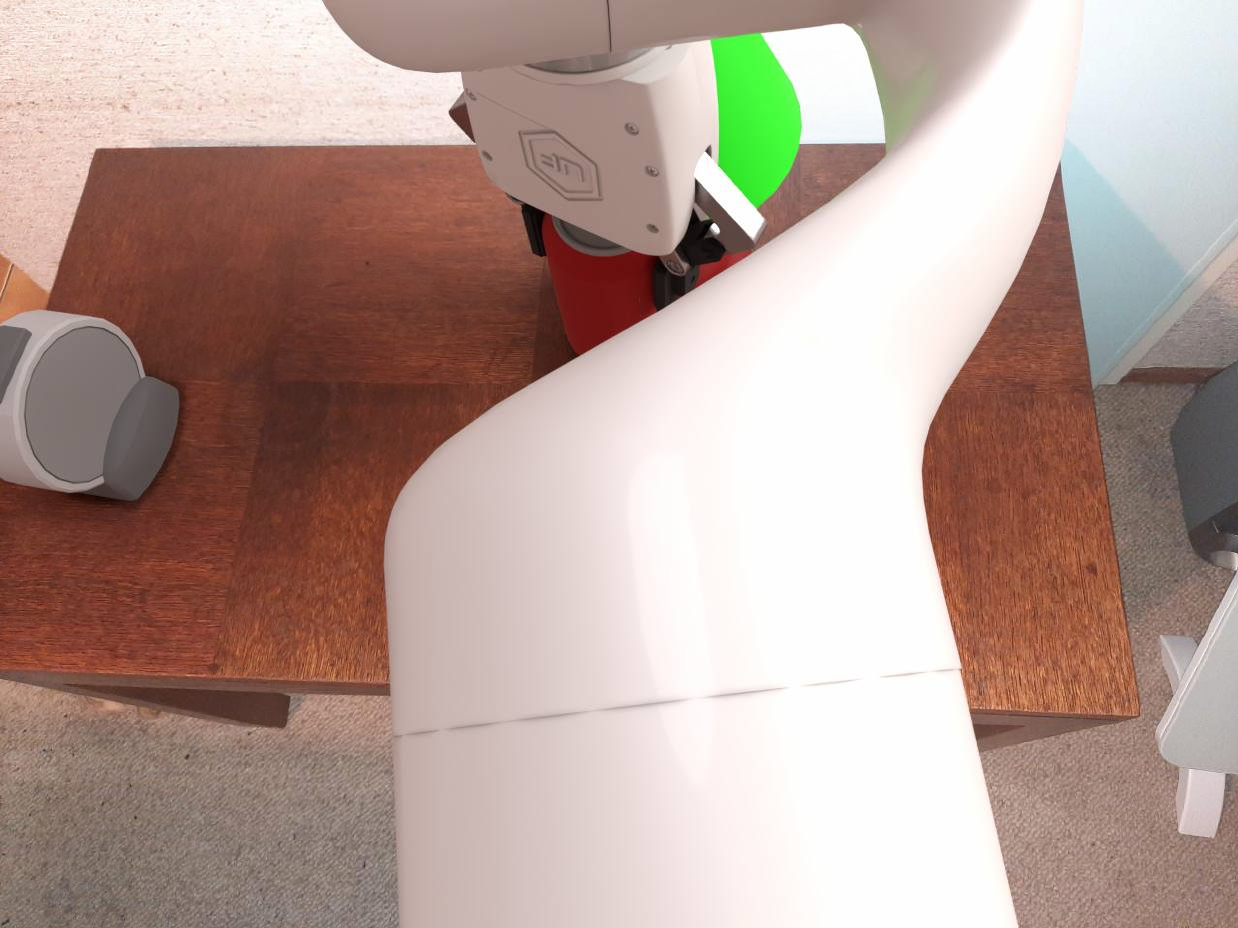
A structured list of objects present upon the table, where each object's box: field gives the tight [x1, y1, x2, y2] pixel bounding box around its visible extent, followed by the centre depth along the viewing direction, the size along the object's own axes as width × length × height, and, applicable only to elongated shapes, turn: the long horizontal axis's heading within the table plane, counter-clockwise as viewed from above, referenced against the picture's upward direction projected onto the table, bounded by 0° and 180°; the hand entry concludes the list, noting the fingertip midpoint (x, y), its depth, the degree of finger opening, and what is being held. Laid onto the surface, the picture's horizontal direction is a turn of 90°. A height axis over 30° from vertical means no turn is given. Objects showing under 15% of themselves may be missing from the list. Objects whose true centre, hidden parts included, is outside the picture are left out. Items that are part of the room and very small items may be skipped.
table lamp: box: [676, 33, 803, 300], centre depth 67 cm, size 20×20×45 cm
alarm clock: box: [0, 309, 180, 502], centre depth 78 cm, size 16×10×18 cm, turn 170°
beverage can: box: [542, 212, 660, 357], centre depth 47 cm, size 7×7×12 cm
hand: (612, 261), depth 46 cm, fingers closed on beverage can, 6 cm apart
